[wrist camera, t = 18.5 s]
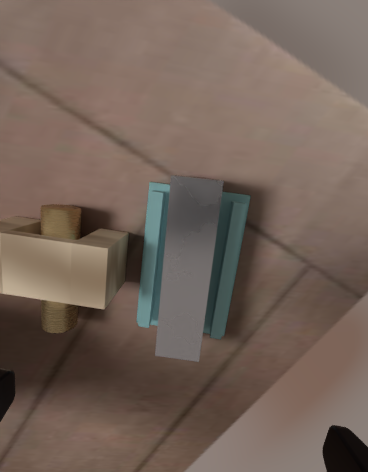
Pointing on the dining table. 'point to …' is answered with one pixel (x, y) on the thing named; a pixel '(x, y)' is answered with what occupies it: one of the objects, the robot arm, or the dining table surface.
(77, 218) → the cylinder
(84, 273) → the bore block
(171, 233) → the grey long bar
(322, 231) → the dining table surface
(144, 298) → the cradle
